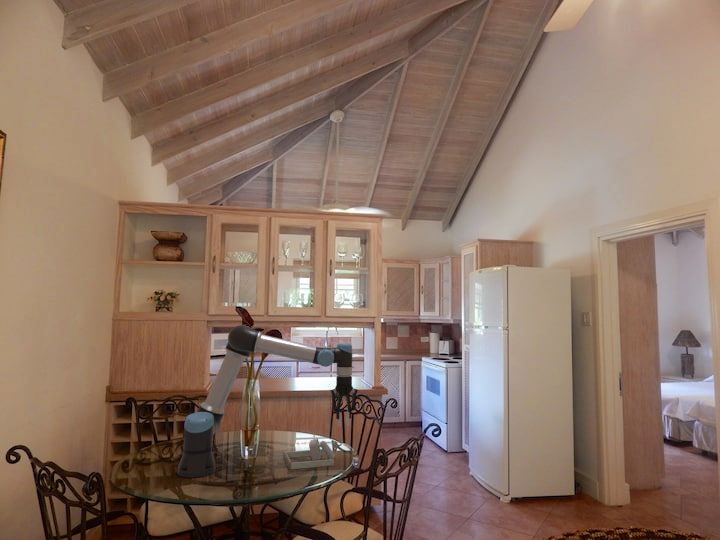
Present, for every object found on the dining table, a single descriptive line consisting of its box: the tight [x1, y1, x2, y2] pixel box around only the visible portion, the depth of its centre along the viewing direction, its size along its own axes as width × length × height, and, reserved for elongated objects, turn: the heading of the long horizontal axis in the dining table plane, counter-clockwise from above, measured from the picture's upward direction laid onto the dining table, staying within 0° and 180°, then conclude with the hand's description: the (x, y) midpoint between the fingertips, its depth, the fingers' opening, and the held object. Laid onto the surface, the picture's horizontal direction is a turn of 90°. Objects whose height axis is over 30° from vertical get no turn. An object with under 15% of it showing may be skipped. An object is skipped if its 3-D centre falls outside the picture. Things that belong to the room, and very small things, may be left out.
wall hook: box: [308, 438, 336, 461], centre depth 204 cm, size 8×10×10 cm
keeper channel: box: [283, 448, 335, 470], centre depth 201 cm, size 20×18×3 cm
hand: (343, 425), depth 209 cm, fingers open, 3 cm apart
